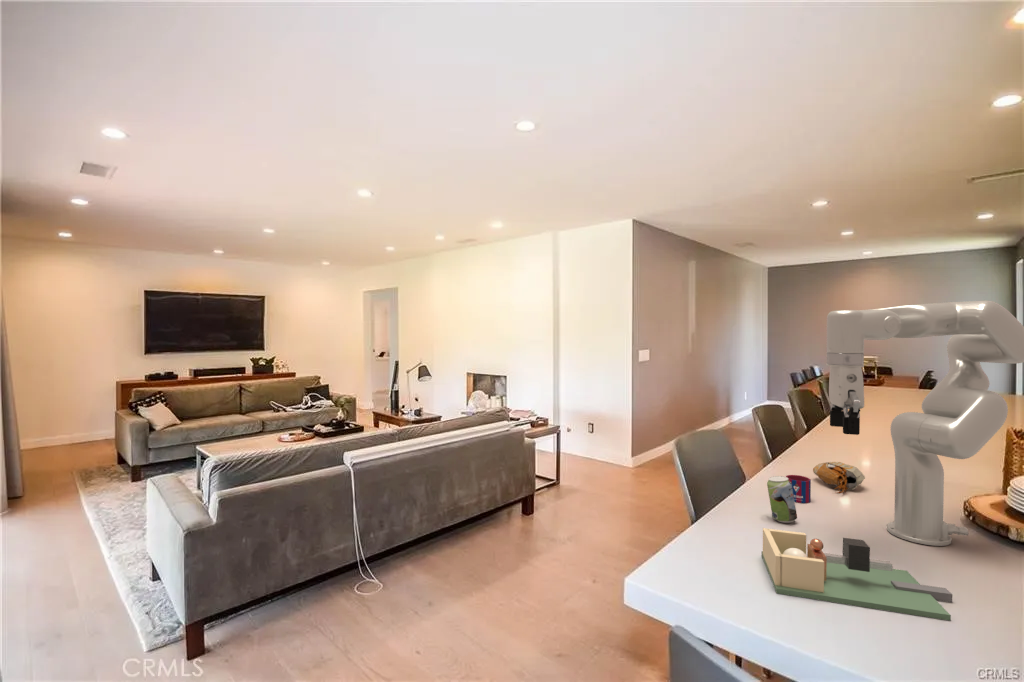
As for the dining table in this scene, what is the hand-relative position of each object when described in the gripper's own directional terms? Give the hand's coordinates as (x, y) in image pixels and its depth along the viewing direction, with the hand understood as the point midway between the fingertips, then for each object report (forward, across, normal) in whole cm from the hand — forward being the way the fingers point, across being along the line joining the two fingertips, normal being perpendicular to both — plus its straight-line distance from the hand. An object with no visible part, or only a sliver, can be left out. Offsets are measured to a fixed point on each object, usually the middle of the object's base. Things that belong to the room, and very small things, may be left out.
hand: (844, 430), depth 116 cm
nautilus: (+29, +50, -13) cm, 59 cm away
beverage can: (+28, +12, +11) cm, 33 cm away
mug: (+29, +34, +2) cm, 44 cm away
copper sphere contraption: (+27, -22, +5) cm, 35 cm away
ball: (+25, -22, +15) cm, 36 cm away
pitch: (+28, -22, +4) cm, 36 cm away
